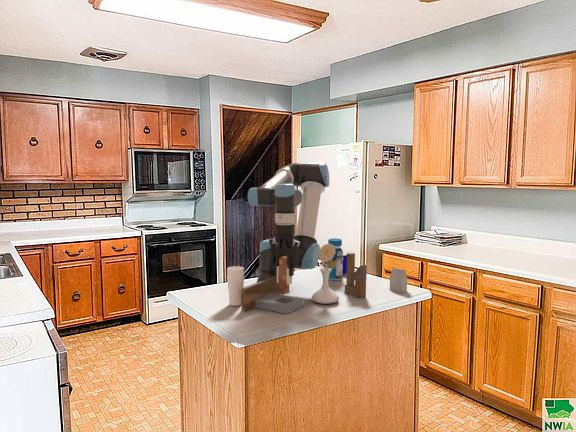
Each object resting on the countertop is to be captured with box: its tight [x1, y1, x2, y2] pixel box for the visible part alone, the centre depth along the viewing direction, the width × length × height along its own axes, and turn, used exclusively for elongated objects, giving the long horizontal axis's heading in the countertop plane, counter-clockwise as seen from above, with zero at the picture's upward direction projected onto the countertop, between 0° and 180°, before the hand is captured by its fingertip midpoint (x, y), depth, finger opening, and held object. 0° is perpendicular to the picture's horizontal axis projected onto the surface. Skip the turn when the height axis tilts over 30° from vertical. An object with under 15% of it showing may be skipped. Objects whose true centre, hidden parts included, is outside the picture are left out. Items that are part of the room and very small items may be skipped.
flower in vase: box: [311, 243, 340, 305], centre depth 183 cm, size 13×11×25 cm
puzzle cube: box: [322, 252, 347, 275], centre depth 238 cm, size 10×10×10 cm
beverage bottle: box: [327, 238, 344, 281], centre depth 223 cm, size 8×8×20 cm
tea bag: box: [389, 266, 408, 293], centre depth 203 cm, size 4×7×10 cm, turn 38°
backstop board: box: [240, 276, 282, 312], centre depth 182 cm, size 2×24×9 cm, turn 146°
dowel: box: [279, 256, 290, 295], centre depth 174 cm, size 4×4×14 cm
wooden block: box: [343, 252, 368, 299], centre depth 194 cm, size 4×11×18 cm, turn 30°
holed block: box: [255, 293, 304, 315], centre depth 177 cm, size 15×12×3 cm
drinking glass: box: [226, 266, 245, 307], centre depth 180 cm, size 7×7×15 cm
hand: (284, 283), depth 175 cm, fingers closed on dowel, 4 cm apart
